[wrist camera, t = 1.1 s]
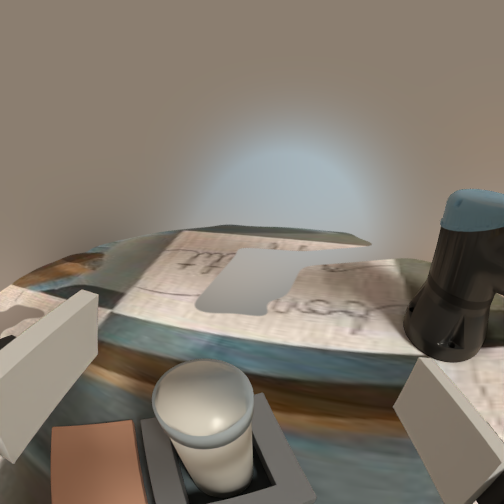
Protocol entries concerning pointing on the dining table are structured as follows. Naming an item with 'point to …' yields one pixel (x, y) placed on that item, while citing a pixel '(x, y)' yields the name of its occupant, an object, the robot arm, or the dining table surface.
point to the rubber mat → (96, 465)
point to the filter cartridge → (209, 423)
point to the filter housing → (267, 447)
